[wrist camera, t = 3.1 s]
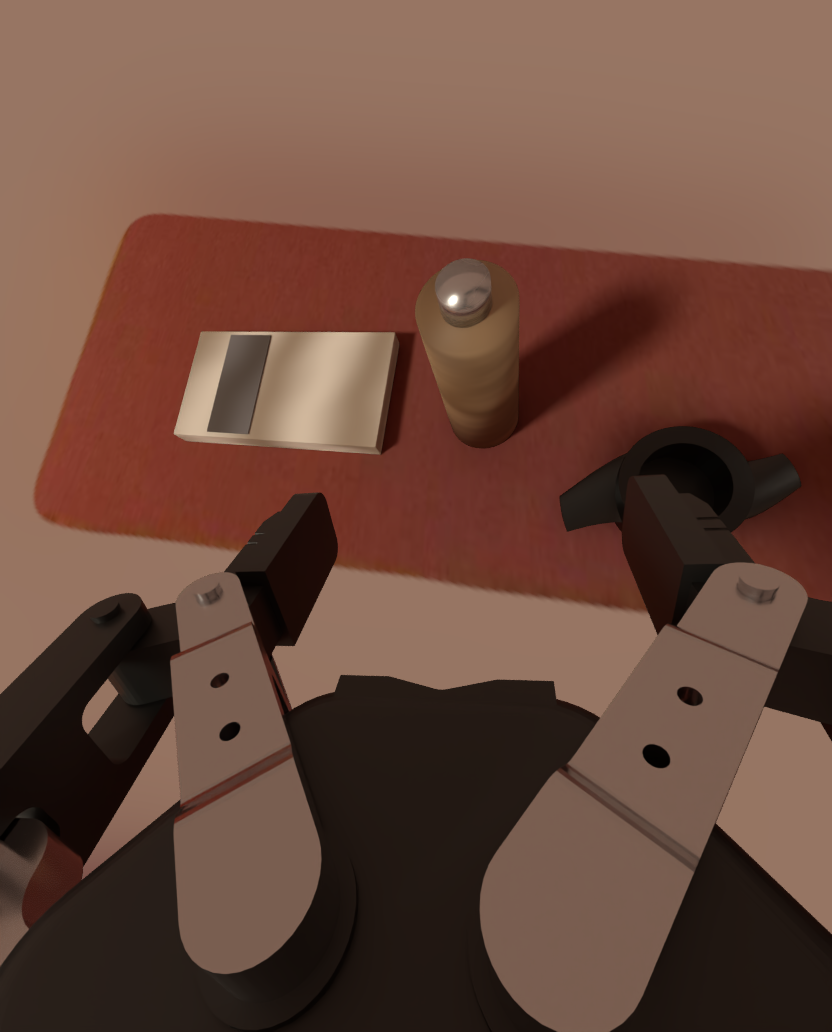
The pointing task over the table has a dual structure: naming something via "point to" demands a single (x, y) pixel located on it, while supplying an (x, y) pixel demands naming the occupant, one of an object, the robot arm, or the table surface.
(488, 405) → the wooden pepper mill
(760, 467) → the black winged cup
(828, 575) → the table surface
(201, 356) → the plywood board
